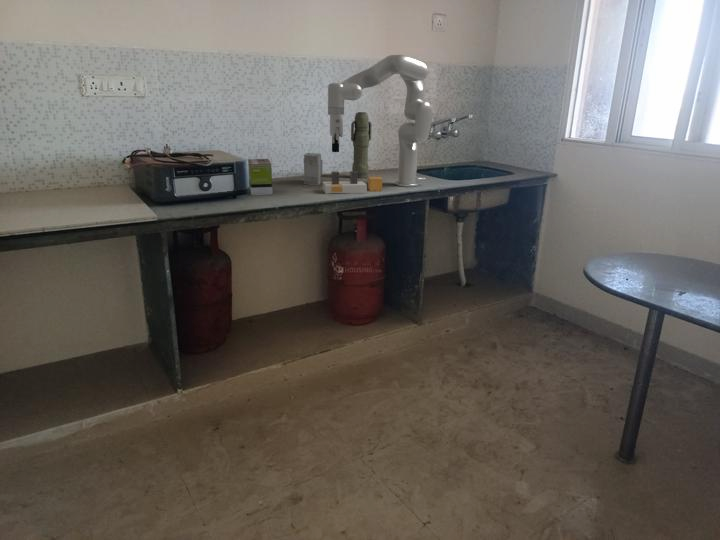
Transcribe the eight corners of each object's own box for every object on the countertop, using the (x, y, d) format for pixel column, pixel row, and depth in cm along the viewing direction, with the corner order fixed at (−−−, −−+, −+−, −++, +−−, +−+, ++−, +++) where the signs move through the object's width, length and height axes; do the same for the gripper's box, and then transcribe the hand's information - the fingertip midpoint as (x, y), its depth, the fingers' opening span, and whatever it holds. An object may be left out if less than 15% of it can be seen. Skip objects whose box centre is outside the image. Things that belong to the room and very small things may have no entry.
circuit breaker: (322, 180, 283) (322, 152, 278) (318, 185, 269) (318, 155, 264) (309, 179, 283) (308, 151, 278) (303, 184, 270) (303, 155, 265)
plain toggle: (355, 185, 258) (356, 171, 255) (357, 186, 255) (357, 172, 252) (349, 185, 257) (350, 171, 255) (351, 186, 254) (351, 172, 252)
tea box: (249, 189, 255) (247, 158, 250) (270, 188, 258) (269, 158, 253) (251, 195, 242) (249, 163, 237) (273, 195, 244) (272, 162, 239)
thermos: (373, 177, 295) (375, 112, 283) (356, 179, 288) (357, 113, 276) (364, 175, 302) (365, 111, 290) (347, 176, 295) (348, 112, 283)
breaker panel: (362, 189, 262) (362, 180, 261) (366, 193, 253) (367, 184, 251) (322, 189, 258) (322, 181, 257) (325, 194, 249) (325, 184, 248)
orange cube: (379, 188, 265) (379, 176, 263) (381, 190, 260) (382, 178, 258) (367, 188, 264) (368, 176, 262) (370, 191, 259) (370, 178, 257)
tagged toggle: (337, 185, 256) (338, 171, 253) (338, 187, 253) (339, 172, 251) (331, 185, 255) (331, 171, 253) (332, 187, 252) (332, 172, 250)
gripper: (346, 112, 236) (346, 154, 242) (341, 110, 250) (340, 150, 256) (330, 112, 235) (329, 154, 241) (325, 110, 248) (325, 150, 255)
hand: (335, 151), depth 248 cm, fingers closed
